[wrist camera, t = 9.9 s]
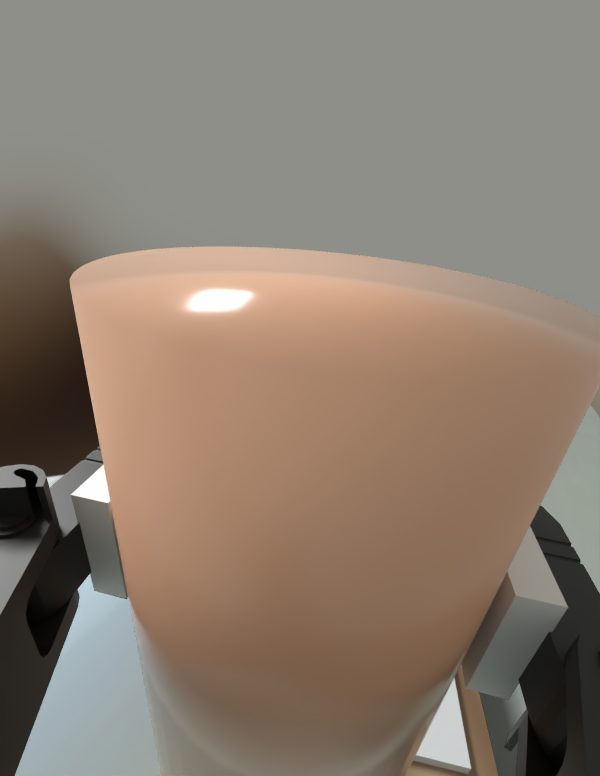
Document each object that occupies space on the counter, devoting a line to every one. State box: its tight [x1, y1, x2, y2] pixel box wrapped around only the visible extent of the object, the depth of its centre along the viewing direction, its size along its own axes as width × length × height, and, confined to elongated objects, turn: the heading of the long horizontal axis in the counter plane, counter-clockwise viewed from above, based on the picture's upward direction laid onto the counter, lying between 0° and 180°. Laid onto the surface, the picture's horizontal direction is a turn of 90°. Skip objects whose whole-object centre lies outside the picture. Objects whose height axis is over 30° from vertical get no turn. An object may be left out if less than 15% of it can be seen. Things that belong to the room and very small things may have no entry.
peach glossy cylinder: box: [70, 247, 600, 776], centre depth 8 cm, size 7×7×12 cm
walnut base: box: [406, 664, 498, 776], centre depth 24 cm, size 14×14×6 cm
